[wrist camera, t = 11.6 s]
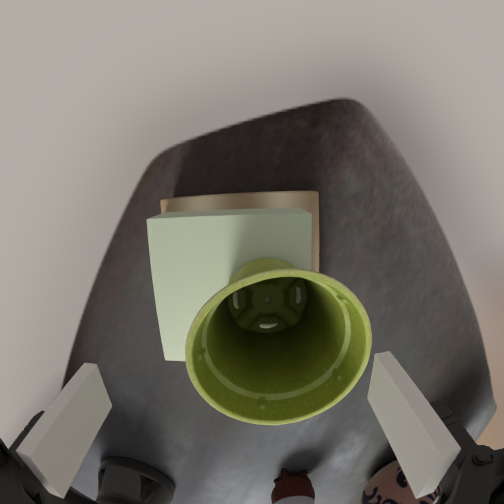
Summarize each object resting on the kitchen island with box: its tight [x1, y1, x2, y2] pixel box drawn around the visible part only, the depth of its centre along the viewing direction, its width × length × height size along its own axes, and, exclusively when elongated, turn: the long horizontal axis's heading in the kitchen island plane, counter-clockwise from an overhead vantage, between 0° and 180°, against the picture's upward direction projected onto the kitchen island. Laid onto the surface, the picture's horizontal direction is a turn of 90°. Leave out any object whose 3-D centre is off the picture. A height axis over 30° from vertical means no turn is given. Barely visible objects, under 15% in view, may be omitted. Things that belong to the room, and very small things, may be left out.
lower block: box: [160, 191, 319, 272], centre depth 30 cm, size 14×14×5 cm
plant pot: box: [185, 258, 372, 425], centre depth 18 cm, size 9×9×9 cm
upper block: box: [147, 208, 312, 361], centre depth 25 cm, size 12×12×5 cm
